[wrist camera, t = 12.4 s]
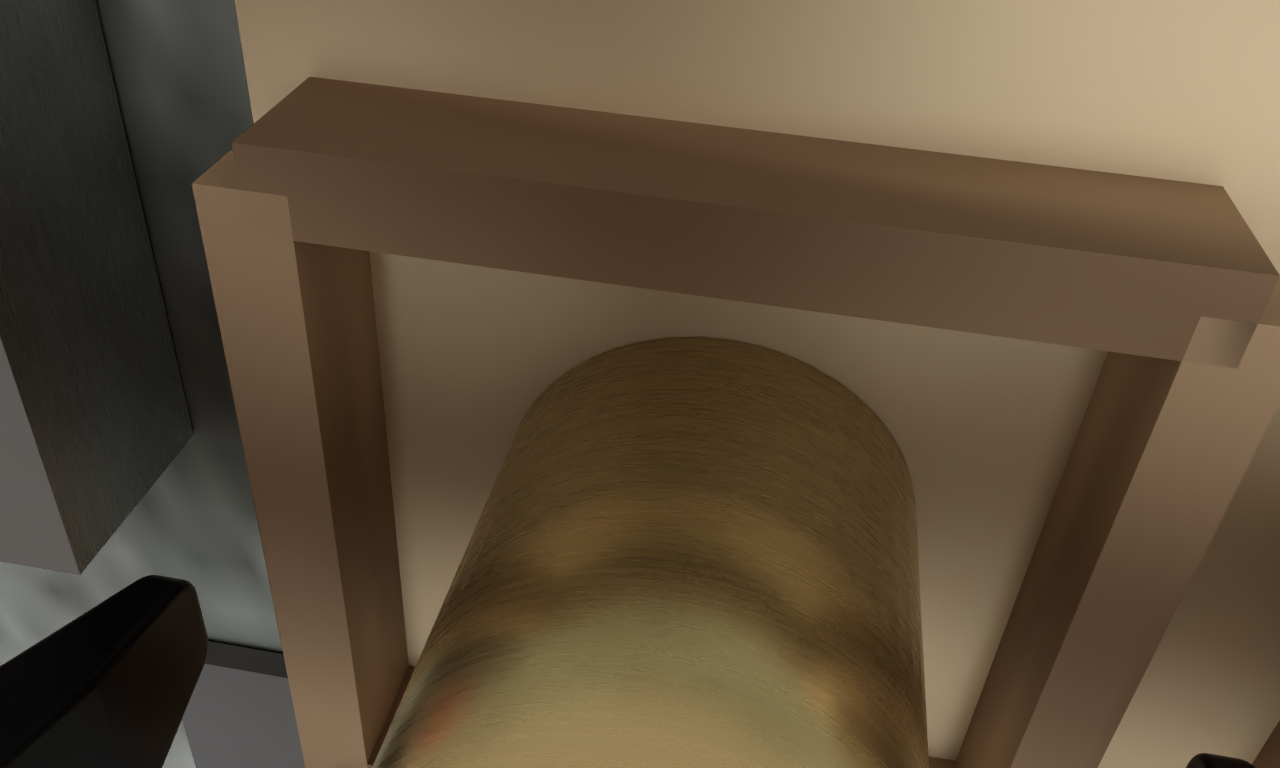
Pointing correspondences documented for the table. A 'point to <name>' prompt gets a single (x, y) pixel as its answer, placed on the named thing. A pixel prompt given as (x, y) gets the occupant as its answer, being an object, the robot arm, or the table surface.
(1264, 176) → the tray
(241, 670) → the mat
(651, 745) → the cylinder
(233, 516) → the table surface
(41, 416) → the button housing
